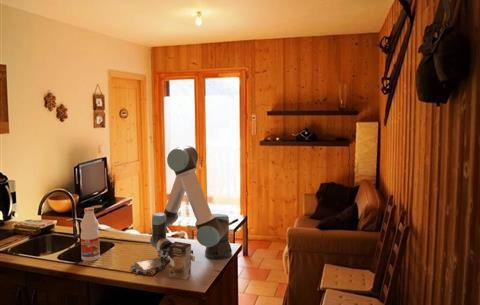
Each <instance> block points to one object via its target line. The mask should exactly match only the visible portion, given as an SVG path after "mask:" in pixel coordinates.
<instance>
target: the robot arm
mask: <svg viewBox="0 0 480 305" xmlns="http://www.w3.org/2000/svg"><path fill="white" fill-rule="evenodd" d="M198 161H199V153H198V151H197V150H196V148H195V147H193V146H191V145H184V146H178V147H175V148H173V149H172V150H170V152H169V153H168V155H167V157H166V163H167V166H168V167H169V169H170V170H172V171H174V174H175V180H174V182H173V184H172V188H171V191H170V194H169V197H168V199H167V202H166V205H165V207H164V210H163V212H156V213H153V214H152V216H151V233H152V234H151V236H150V237H149V243H150V245H151V246H152V247H153V248H154V249H156V250H157V256H158V257H159V260H160V262H164V264H169V265H170V264H171V265H172V266H174V260H173V259H172V258H171V257H170V253H169V246H170V245H171V244H172V243H173V242H172V241H171V240H170V239H168V238H167V229H168V227H169V226H171V225H172V224H175V222H177V220H178V218H179V211H180V210H179V209H180V208H181V205H182V202H183V199H184V196H185V195H186V196H187V200H188V202H189V204H190V206H191V210H192V212H193V215H194V217H195V219H196V221H195V228H196V230H197V231H196V235H195V236H196V240H197V242H198V243H199V244H200V245H201V246H204V247H205V249H204V256H205V257H206V258H208V259H211V260H223V259H224V260H225V259H227V258H228V259H229V258H230V257H232V255H233V250H232V247H231V243H230V220H229V219H230V218H229V217H230V216H229V215H228V214H226V213H224V214H222V213H212V211H211V208H210V206H209V203H208V201H207V198H206V195H205V193H204V191H203V187H202V186H201V183H200V180H199V178H198V175H197V173H196V171H197V169H198V168H197V164H198ZM195 258H196V257H195V255H194V250H193V249H191V262H195V260H196V259H195Z"/></svg>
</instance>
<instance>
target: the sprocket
mask: <svg viewBox="0 0 480 305" xmlns="http://www.w3.org/2000/svg"><path fill="white" fill-rule="evenodd" d="M165 268H166V263H165V261H163V262H161V261H160V258H159V259H153V258H149V259H146V260H145V259H141V260H140V261H134V264H131V265H130V271H131V272H132V273H134V272H135V271H136V272H135V275H138V274H146V275H148V274H150V273H149V272H152V273H155V274H156V272H155V271H157V272H162V271H163V269H165ZM133 271H134V272H133ZM152 273H151V274H152Z"/></svg>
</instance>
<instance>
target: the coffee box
mask: <svg viewBox="0 0 480 305" xmlns="http://www.w3.org/2000/svg"><path fill="white" fill-rule="evenodd" d="M191 250H192V243H187V242H182V241H174V242H172V244H171V245H170V246H169V253H170V256H169V257H171V258H172V259H173V260H174V266H172V265H171V264H169V278H174V279H179V280H187V279H188V278H189V277H190V276H191V275H192V260H191Z"/></svg>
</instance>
